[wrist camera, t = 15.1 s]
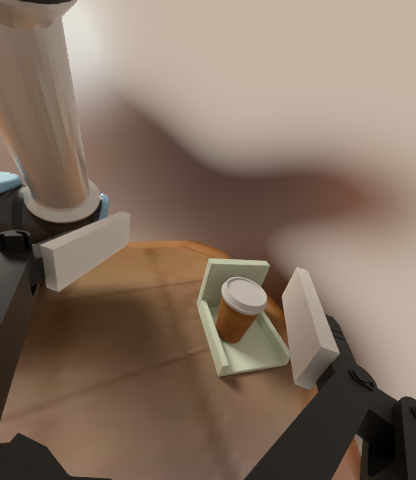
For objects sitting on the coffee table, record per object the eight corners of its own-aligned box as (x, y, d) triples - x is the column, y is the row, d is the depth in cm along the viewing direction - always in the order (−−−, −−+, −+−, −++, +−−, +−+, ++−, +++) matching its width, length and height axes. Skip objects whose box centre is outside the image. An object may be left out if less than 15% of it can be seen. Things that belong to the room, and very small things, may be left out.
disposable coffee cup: (200, 335, 43) (216, 291, 38) (216, 308, 51) (231, 269, 46) (242, 359, 41) (265, 316, 36) (252, 327, 49) (271, 288, 44)
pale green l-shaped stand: (196, 303, 52) (208, 258, 46) (248, 301, 58) (265, 260, 52) (218, 376, 37) (240, 323, 31) (285, 365, 43) (316, 317, 37)
